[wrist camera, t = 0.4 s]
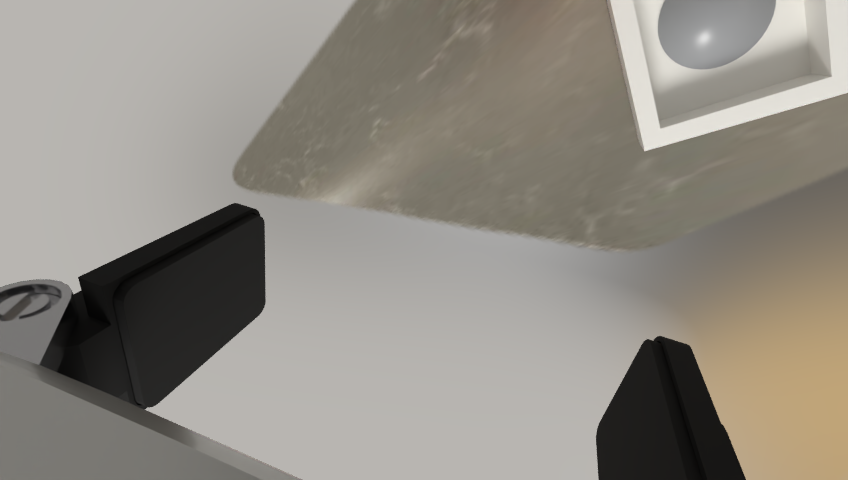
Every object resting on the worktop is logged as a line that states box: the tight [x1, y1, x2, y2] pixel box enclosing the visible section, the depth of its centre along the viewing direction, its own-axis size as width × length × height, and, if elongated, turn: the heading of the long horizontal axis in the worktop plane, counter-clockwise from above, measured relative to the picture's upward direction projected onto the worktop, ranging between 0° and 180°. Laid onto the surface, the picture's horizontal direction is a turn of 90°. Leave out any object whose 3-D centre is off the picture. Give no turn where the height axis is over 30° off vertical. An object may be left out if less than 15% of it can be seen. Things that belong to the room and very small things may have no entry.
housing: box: [606, 0, 848, 151], centre depth 26 cm, size 11×13×3 cm
